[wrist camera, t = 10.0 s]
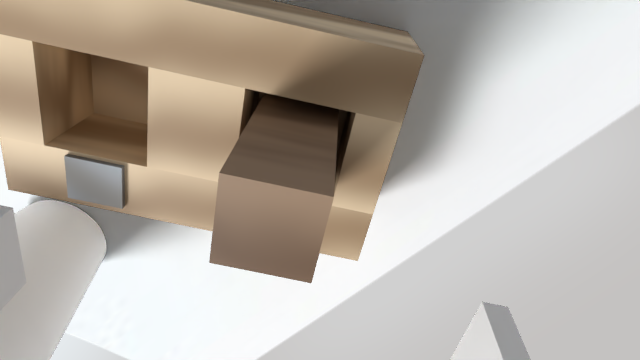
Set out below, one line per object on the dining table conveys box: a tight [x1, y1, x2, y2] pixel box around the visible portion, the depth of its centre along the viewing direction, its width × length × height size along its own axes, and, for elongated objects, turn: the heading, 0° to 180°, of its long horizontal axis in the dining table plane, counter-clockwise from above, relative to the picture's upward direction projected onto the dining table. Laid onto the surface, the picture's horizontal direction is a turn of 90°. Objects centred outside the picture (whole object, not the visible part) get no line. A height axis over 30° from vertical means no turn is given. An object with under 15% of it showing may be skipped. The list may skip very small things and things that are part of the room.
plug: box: [209, 93, 339, 283], centre depth 21 cm, size 4×4×12 cm
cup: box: [0, 200, 107, 360], centre depth 28 cm, size 9×9×12 cm
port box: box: [0, 0, 424, 261], centre depth 24 cm, size 12×20×6 cm, turn 78°
